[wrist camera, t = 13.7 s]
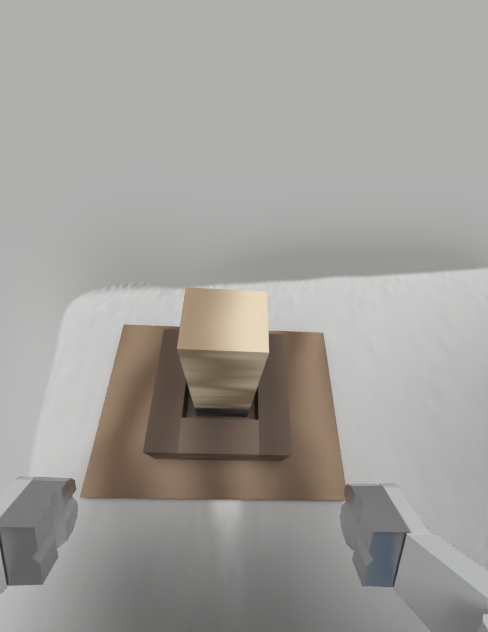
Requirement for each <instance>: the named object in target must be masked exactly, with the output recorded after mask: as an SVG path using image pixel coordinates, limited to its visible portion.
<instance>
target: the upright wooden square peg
mask: <svg viewBox="0 0 488 632" xmlns="http://www.w3.org/2000/svg"><path fill="white" fill-rule="evenodd" d="M177 351H178V354H179V357H180V361H181V364H182V367H183V371H184V374H185V378H186V381H187V384H188V388H189V391H190V394H191V398H192V401H193V404H194V408H195V411H196V414H197V416H220V417H247V416H248V413H249V410H250V407H251V404H252V401H253V398H254V395H255V392H256V389H257V387H258V384H259V381H260V378H261V375H262V372H263V369H264V366H265V363H266V360H267V357H268V355H269V333H268V304H267V292H263V291H243V290H223V289H203V288H185V295H184V302H183V310H182V317H181V324H180V331H179V338H178V345H177Z"/></svg>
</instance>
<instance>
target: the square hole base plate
mask: <svg viewBox="0 0 488 632" xmlns="http://www.w3.org/2000/svg"><path fill="white" fill-rule="evenodd" d="M179 331H180V327H170V326H146V325H124V326H123V330H122V334H121V338H120V342H119V346H118V350H117V354H116V358H115V362H114V366H113V370H112V374H111V378H110V382H109V386H108V389H107V393H106V397H105V401H104V405H103V409H102V413H101V417H100V421H99V425H98V429H97V433H96V437H95V441H94V445H93V449H92V453H91V457H90V461H89V465H88V468H87V472H86V476H85V480H84V484H83V488H82V492H81V496H80V498H167V499H254V500H342V501H346V499H345V497H344V489H345V480H344V473H343V466H342V459H341V452H340V445H339V438H338V432H337V425H336V418H335V411H334V404H333V397H332V390H331V383H330V376H329V369H328V362H327V356H326V349H325V342H324V335H323V333H313V332H290V331H268V333H269V355H268V357H267V360H266V363H265V366H264V369H263V372H262V375H261V378H260V381H259V384H258V387H257V389H256V392H255V395H254V398H253V401H252V404H251V407H250V410H249V413H248V416H247V417H220V416H197V414H196V411H195V408H194V404H193V401H192V398H191V394H190V391H189V388H188V384H187V381H186V378H185V374H184V371H183V367H182V364H181V361H180V357H179V354H178V351H177V345H178V338H179Z"/></svg>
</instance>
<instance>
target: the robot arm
mask: <svg viewBox="0 0 488 632" xmlns="http://www.w3.org/2000/svg"><path fill="white" fill-rule="evenodd" d="M75 490H76V485H75V480H74V479H71V478H51V477H22V476H20V477H18V478H16V479H14V480H13V481H12V482H11V483H10V484H9V485H8V486H7V487H6V489H4V491H3V492H2V493H1V494H0V594H1V593H2V592H3V591H4V590H5V589H7V586H11V585H43V583H44V581H45V580H46V578H47V576H48V574H49V572H50V571H51V569H52V567H53V565H54V564H55V562H56V560H57V558H58V552H57V548H59V547H60V546H61V545H62V544H64V543H65V542H66V541H67V540H68V538H69V537H70V535H71V533H72V531H73V528H74V525H75V522H76V519H77V513H78V504H77V501H76V500H75V499H74V498H73V497H72V495H73V494H74V492H75ZM344 497H345V499H346V502H345V503H344V504H343V505H342V506H341V514H340V519H341V528H342V532H343V536H344V539H345V541H346V544H347V545H348V546H349V547H350V548H351V549H352V550H354V553H353V559H352V560H353V563H354V565H355V568H356V571H357V573H358V576H359V578H360V581H361V584H362V586H382V587H394V590H395V591H396V592H397V593H398V595H399V596H400V597H401V598H402V599H403V600H404V601H405V602H406V603H407V605H408V606H409V607H410V608H411V609H412V610H413V611H414V612H415V614H416V615H417V616H418V617H419V618H420V619H421V620H422V621H423V622H424V624H425V625H426V626H427V627H428V628H429V629H430V630H431V631H432V632H488V571H487V570H486V569H485V568H483V567H482V566H480V565H479V564H478V563H476V562H475V561H474V560H472V559H471V558H469V557H468V556H467V555H465V554H464V553H462V552H461V551H460V550H458V549H457V548H455V547H454V546H453V545H451V544H450V543H448V542H447V541H446V540H444V539H443V538H442V537H440V536H439V535H437V534H431V533H430V531H429V530H428V528H427V527H426V525H425V524H424V523H423V521H422V520H421V518H420V517H419V515H418V514H417V512H416V511H415V509H414V508H413V507H412V505H411V504H410V502H409V501H408V499H407V498H406V496H405V495H404V493H403V492H402V491H401V489H400V488H399V487H398V486H397V485H396V484H379V485H378V484H347V485H346V486H345V489H344Z"/></svg>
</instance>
